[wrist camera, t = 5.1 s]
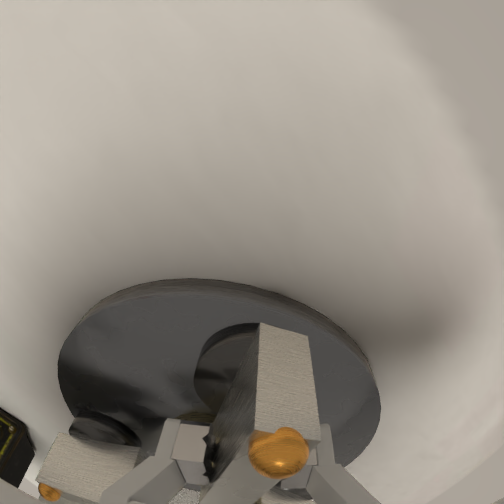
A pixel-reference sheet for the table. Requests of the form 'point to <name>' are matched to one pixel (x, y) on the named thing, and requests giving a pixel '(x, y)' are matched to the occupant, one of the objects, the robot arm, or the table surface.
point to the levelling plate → (187, 353)
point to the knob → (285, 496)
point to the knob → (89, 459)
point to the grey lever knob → (256, 409)
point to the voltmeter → (13, 450)
